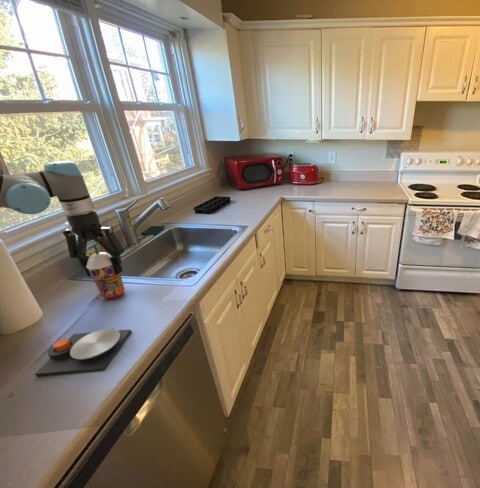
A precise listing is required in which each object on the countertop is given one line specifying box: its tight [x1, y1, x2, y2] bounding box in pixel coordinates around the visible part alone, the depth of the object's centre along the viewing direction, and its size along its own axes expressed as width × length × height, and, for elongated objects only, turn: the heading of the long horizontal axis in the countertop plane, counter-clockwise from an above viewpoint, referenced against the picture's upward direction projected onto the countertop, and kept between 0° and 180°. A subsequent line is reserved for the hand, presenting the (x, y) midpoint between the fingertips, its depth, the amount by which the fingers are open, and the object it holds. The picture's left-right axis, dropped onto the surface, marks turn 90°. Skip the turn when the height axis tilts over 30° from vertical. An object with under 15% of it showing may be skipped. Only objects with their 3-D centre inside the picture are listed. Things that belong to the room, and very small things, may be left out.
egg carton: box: [192, 195, 231, 215], centre depth 193 cm, size 18×30×4 cm, turn 1°
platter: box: [70, 328, 120, 360], centre depth 77 cm, size 11×11×1 cm
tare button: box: [52, 338, 71, 352], centre depth 76 cm, size 3×3×2 cm
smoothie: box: [86, 245, 125, 300], centre depth 98 cm, size 8×8×20 cm
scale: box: [34, 329, 132, 378], centre depth 77 cm, size 17×14×3 cm
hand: (105, 273), depth 98 cm, fingers closed on smoothie, 8 cm apart
